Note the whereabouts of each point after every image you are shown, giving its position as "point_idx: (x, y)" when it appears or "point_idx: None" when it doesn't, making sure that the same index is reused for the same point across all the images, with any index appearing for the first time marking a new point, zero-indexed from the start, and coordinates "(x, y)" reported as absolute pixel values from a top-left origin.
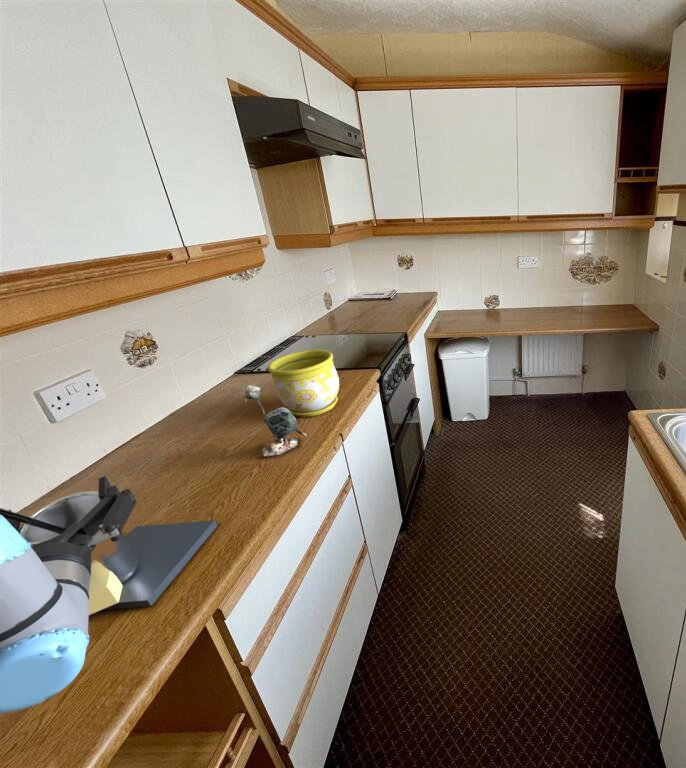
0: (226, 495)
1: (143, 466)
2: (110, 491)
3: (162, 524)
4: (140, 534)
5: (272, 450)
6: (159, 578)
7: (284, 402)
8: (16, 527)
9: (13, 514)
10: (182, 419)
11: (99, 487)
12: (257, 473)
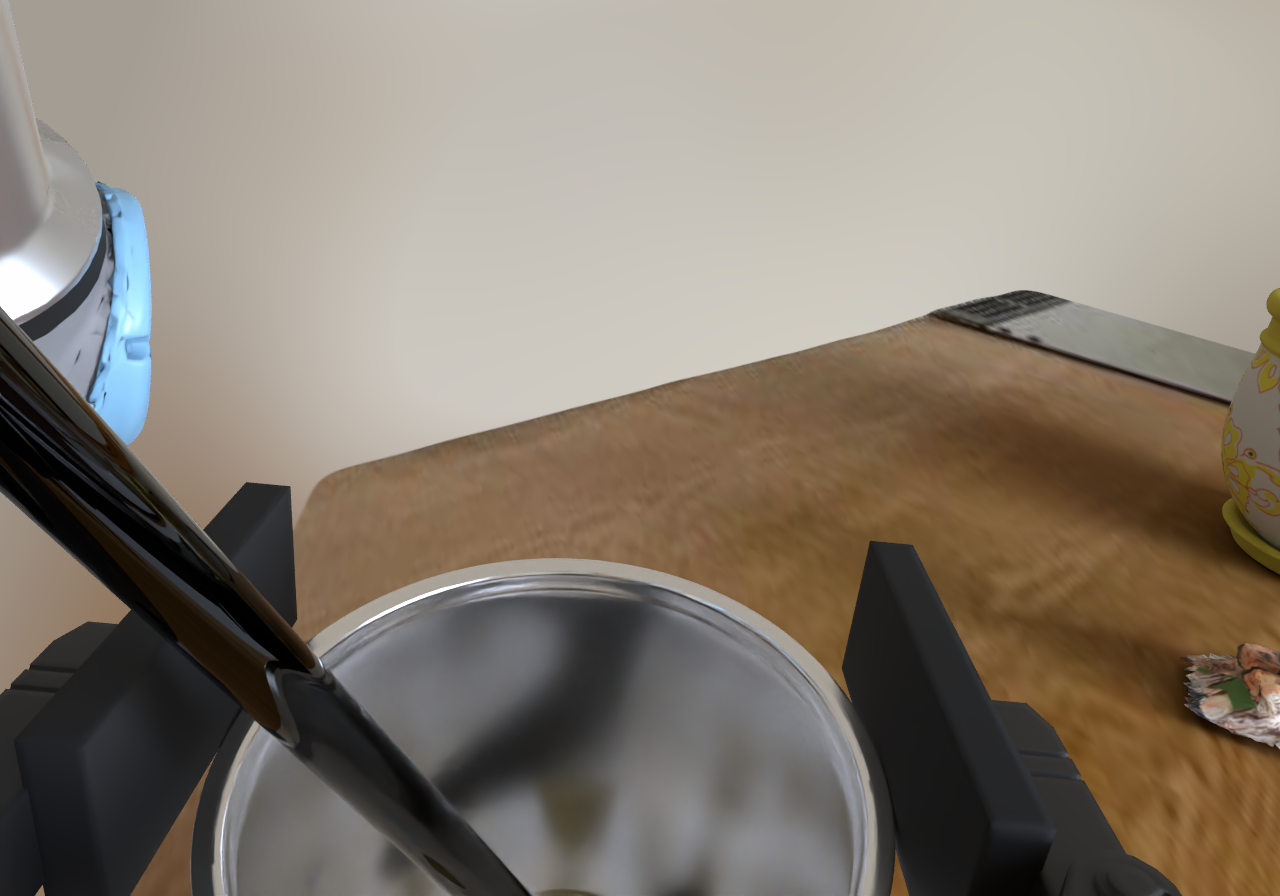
0: None
1: (688, 491)
2: (1032, 778)
3: None
4: None
5: (1259, 712)
6: None
7: (1270, 485)
8: None
9: (232, 620)
10: (798, 385)
11: (928, 661)
12: (1205, 818)
